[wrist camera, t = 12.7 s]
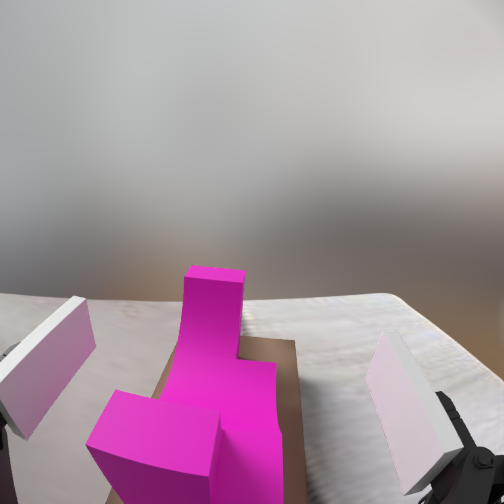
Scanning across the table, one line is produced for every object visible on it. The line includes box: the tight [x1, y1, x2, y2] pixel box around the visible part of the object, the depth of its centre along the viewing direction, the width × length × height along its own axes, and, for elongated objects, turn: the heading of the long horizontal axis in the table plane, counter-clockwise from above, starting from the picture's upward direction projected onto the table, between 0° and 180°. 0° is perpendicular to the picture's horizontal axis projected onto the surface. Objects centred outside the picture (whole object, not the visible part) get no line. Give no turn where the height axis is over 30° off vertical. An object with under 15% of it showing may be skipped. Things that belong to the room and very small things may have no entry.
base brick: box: [105, 336, 308, 504], centre depth 16 cm, size 10×22×4 cm, turn 176°
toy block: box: [85, 265, 283, 504], centre depth 14 cm, size 15×6×8 cm, turn 177°
